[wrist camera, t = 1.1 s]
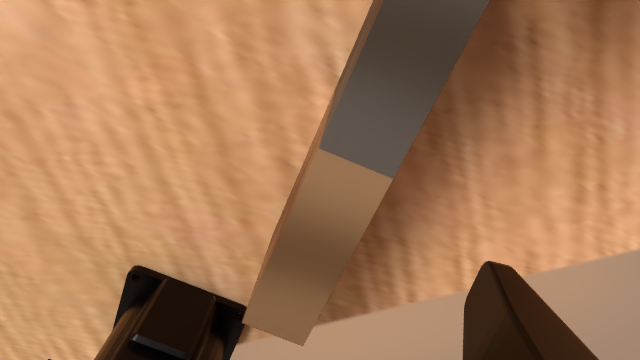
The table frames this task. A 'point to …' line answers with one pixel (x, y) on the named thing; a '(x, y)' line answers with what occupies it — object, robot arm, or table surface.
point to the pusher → (357, 155)
